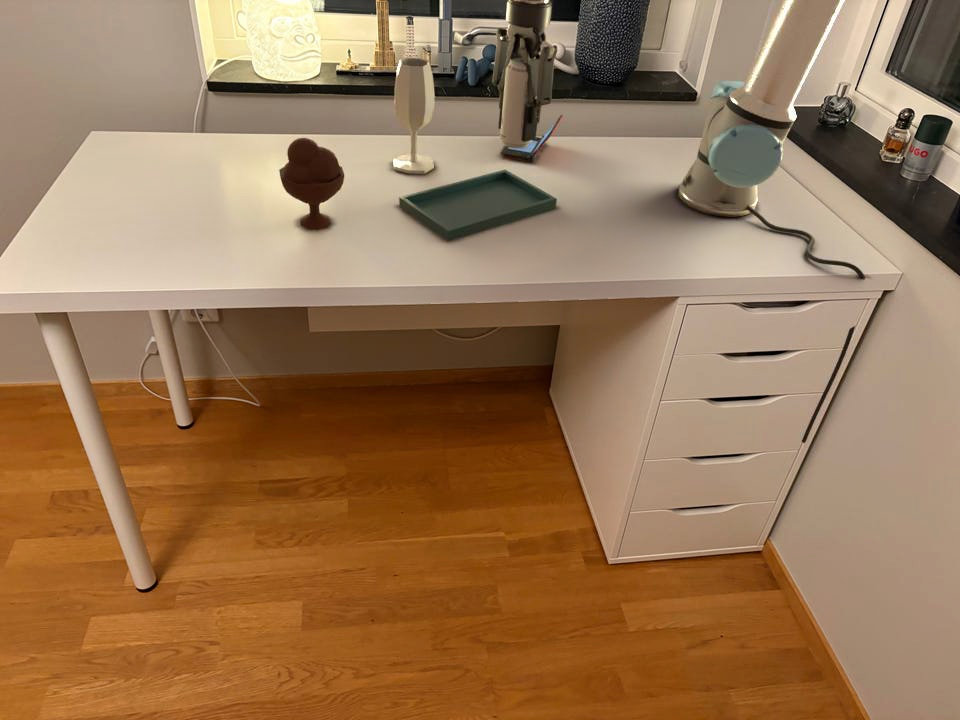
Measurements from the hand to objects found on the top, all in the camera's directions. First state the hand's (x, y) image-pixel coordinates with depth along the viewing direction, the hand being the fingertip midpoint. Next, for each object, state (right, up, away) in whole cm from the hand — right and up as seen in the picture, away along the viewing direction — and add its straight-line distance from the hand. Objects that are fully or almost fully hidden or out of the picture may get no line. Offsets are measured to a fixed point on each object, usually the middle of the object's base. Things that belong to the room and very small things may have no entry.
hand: (516, 133), depth 140 cm
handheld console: (+4, +4, +28) cm, 28 cm away
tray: (-7, -13, +4) cm, 15 cm away
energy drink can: (0, -2, +1) cm, 2 cm away
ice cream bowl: (-36, -18, -5) cm, 40 cm away
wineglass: (-21, -2, +17) cm, 27 cm away
